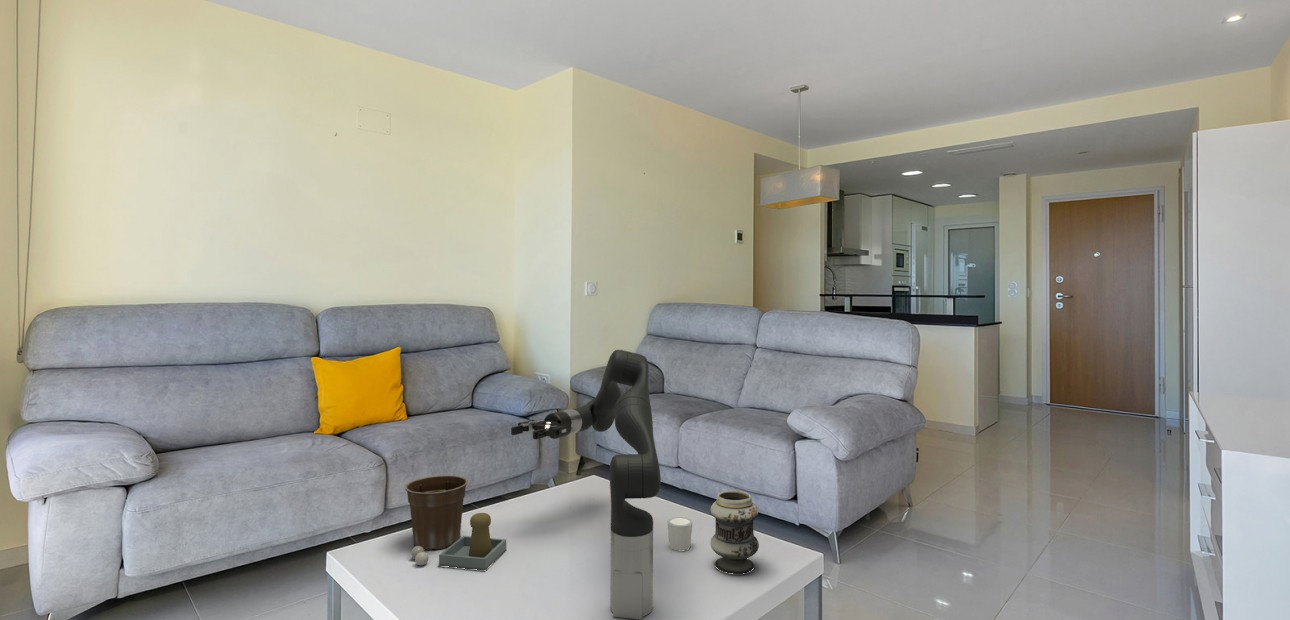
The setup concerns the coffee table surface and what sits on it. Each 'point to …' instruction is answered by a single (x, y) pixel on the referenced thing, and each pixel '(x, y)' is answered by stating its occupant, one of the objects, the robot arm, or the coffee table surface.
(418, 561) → the pebble
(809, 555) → the coffee table surface
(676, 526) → the white cup
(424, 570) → the coffee table surface
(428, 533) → the plant pot
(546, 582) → the coffee table surface
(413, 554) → the pebble
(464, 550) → the slate dish
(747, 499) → the apothecary jar
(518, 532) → the coffee table surface
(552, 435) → the robot arm
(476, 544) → the cork
